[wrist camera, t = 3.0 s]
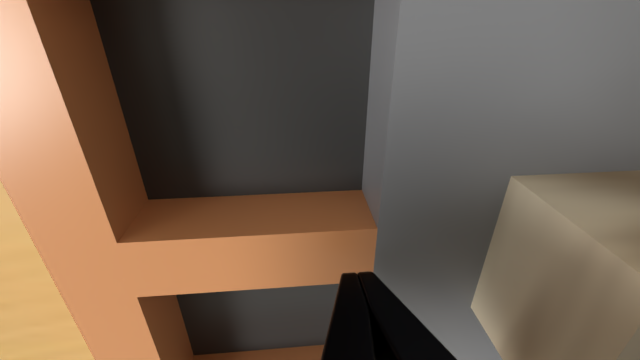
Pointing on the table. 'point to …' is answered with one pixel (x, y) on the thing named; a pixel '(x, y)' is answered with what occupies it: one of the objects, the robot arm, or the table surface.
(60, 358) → the table surface
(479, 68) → the trap deck
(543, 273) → the birch block
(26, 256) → the table surface
